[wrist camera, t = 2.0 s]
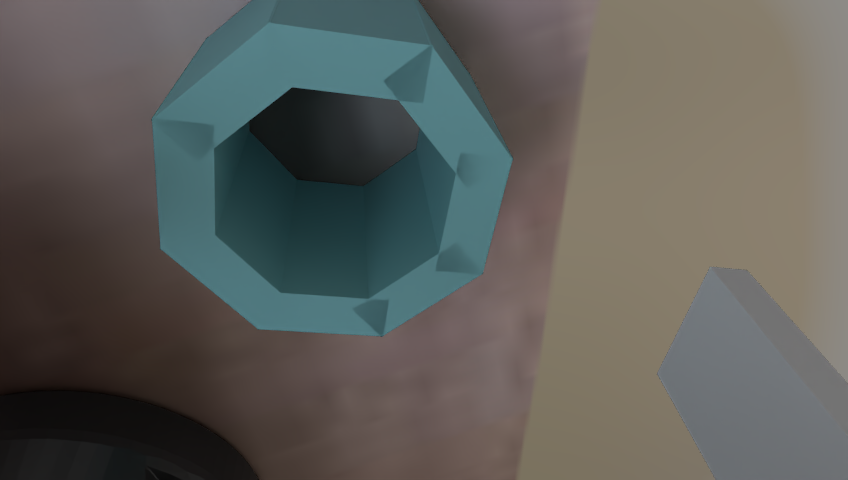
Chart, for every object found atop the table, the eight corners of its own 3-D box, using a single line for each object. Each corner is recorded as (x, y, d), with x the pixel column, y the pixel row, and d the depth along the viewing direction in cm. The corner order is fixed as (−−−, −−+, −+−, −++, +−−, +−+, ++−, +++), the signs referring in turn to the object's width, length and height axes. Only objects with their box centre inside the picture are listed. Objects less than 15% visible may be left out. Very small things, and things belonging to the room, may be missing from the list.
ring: (438, 225, 22) (465, 341, 17) (208, 204, 21) (164, 324, 16) (485, -4, 18) (539, 59, 13) (205, -48, 17) (143, 4, 12)
